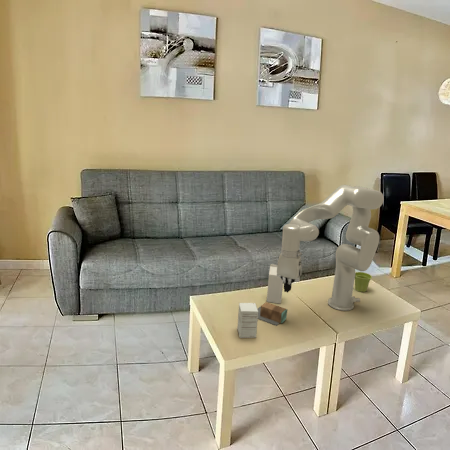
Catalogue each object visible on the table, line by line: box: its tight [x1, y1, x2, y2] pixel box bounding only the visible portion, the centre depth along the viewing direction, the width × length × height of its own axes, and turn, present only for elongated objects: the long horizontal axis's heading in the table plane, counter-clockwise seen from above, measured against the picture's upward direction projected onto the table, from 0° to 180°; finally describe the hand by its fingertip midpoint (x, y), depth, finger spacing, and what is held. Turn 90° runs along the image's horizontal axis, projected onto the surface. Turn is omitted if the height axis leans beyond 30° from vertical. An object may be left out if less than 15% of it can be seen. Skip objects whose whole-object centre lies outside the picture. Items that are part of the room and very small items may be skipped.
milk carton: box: [266, 263, 284, 304], centre depth 194 cm, size 7×7×19 cm
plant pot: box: [354, 271, 373, 293], centre depth 212 cm, size 9×9×9 cm
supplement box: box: [236, 302, 259, 339], centre depth 164 cm, size 7×7×13 cm
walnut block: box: [260, 301, 288, 324], centre depth 178 cm, size 5×5×11 cm
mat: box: [257, 306, 280, 327], centre depth 180 cm, size 14×10×1 cm
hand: (287, 290), depth 172 cm, fingers closed
